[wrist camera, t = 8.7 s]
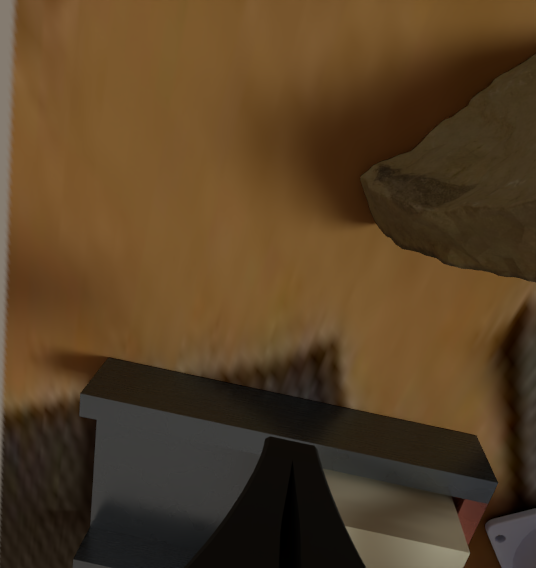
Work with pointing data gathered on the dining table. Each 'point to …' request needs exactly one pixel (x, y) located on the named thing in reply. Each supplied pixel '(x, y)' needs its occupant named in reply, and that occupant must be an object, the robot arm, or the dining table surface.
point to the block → (398, 523)
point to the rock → (468, 183)
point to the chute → (237, 459)
